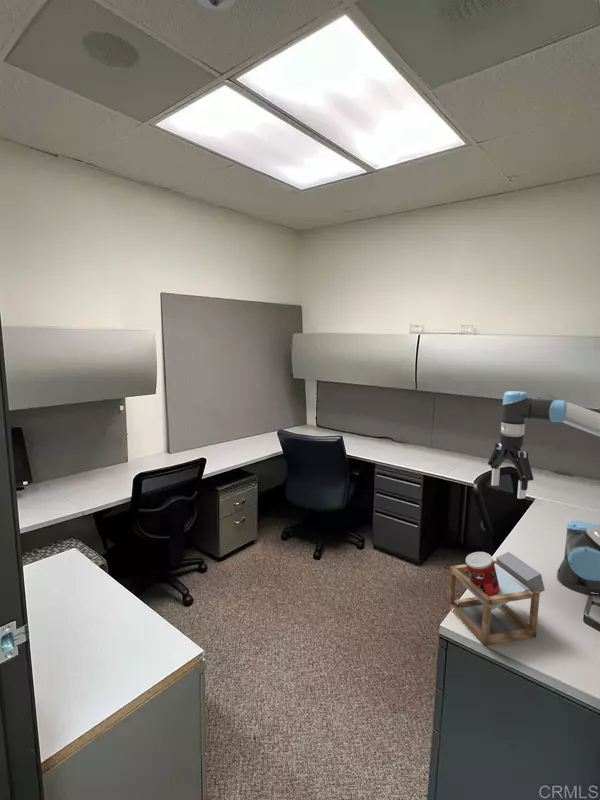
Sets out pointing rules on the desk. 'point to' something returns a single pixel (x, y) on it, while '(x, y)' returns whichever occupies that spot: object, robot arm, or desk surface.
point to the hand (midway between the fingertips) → (507, 491)
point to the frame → (481, 616)
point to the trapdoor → (514, 577)
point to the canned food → (483, 572)
